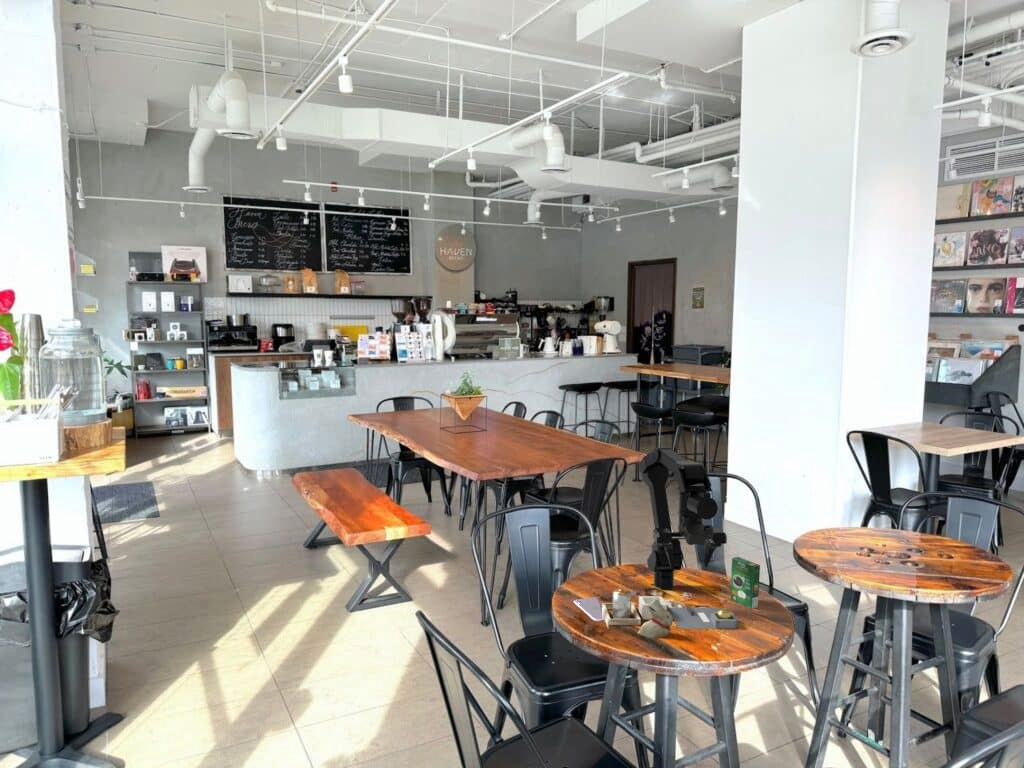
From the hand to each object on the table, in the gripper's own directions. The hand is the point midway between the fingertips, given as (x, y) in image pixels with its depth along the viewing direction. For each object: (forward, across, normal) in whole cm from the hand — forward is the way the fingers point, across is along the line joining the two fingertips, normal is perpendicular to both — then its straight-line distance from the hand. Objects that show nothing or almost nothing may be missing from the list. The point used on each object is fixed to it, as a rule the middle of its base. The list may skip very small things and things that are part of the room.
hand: (688, 567), depth 194 cm
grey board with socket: (+12, +1, -8) cm, 14 cm away
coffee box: (+12, +16, +2) cm, 20 cm away
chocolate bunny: (+12, -13, -18) cm, 25 cm away
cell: (+11, -19, -7) cm, 23 cm away
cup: (+12, -11, -6) cm, 17 cm away
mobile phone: (+13, -25, +1) cm, 28 cm away
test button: (+10, +6, -12) cm, 17 cm away
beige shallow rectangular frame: (+12, -19, -7) cm, 24 cm away
